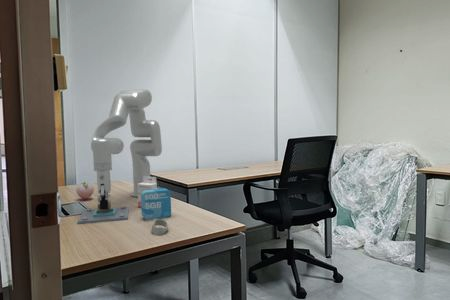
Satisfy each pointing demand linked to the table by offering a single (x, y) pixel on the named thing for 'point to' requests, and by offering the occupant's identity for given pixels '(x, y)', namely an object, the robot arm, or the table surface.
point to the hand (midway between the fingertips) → (104, 207)
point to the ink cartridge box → (146, 186)
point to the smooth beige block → (108, 203)
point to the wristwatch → (158, 230)
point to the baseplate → (104, 215)
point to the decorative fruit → (85, 190)
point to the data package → (155, 203)
